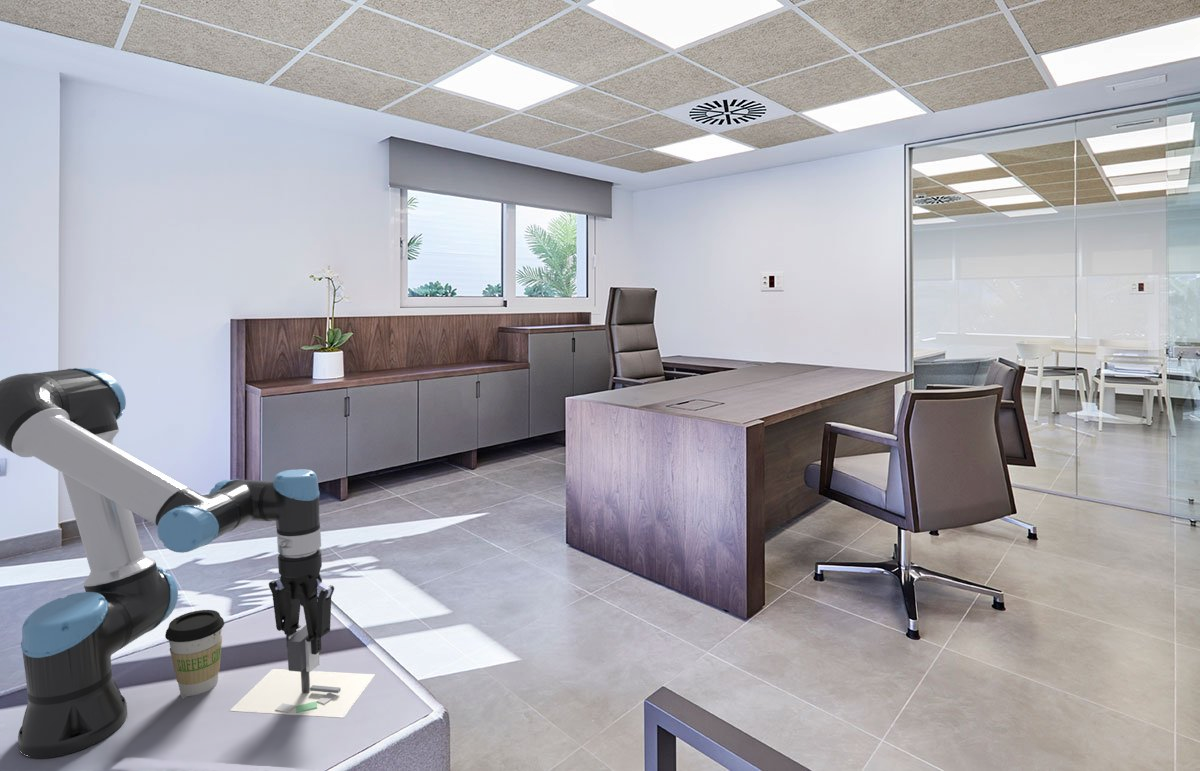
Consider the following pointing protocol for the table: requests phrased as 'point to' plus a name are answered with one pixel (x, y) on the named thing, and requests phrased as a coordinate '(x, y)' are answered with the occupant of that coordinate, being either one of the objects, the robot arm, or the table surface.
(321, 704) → the flat cream board
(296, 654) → the dark grey angular piece
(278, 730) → the table surface
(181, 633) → the coffee cup
